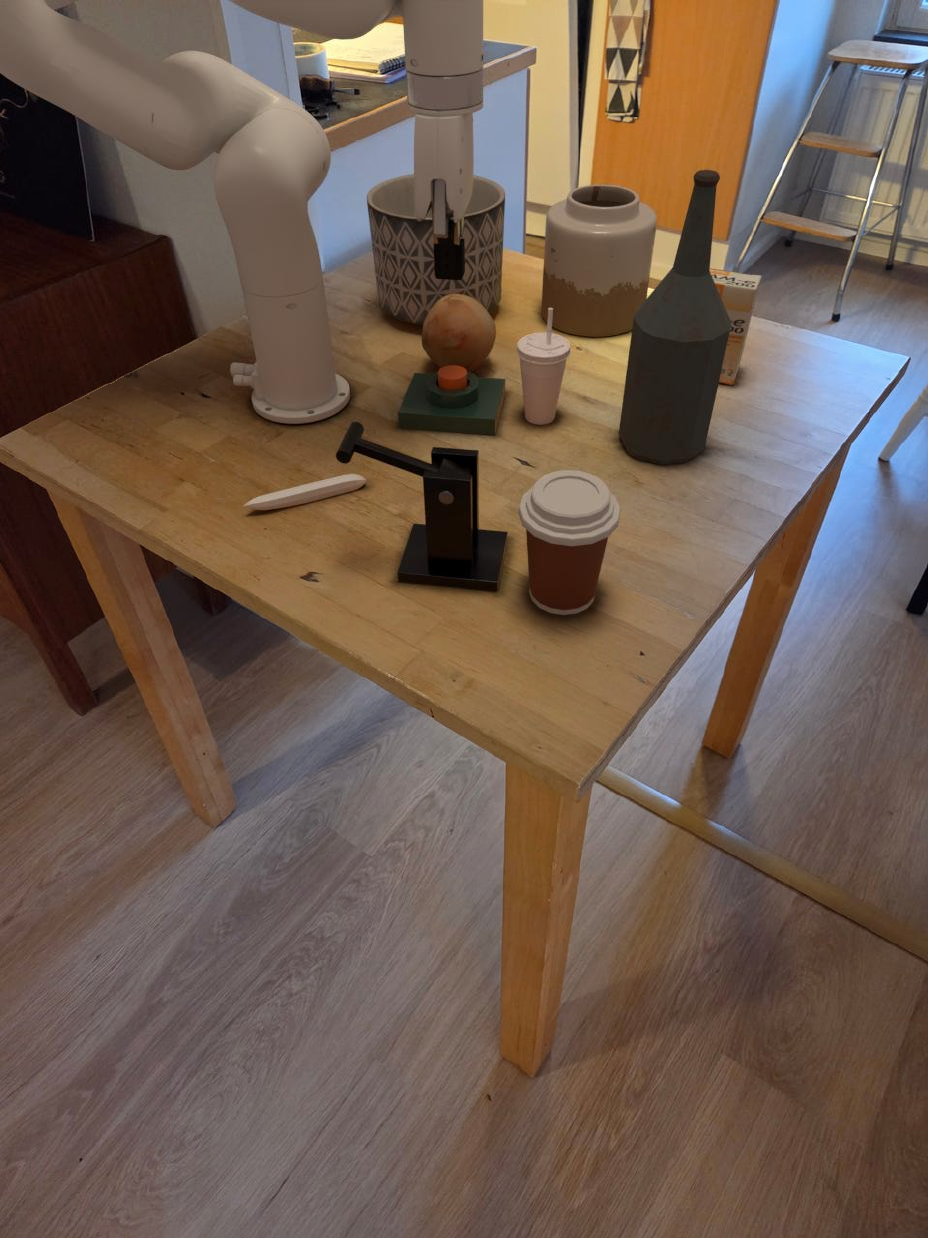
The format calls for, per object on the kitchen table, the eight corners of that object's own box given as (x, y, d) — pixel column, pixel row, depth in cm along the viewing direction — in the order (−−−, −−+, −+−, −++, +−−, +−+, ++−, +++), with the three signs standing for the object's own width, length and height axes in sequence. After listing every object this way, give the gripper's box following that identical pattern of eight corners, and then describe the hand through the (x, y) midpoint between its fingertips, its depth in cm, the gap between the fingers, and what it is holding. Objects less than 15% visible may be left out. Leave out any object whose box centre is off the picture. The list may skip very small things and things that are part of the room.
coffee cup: (559, 550, 87) (567, 450, 79) (628, 592, 83) (644, 492, 74) (496, 591, 83) (497, 491, 75) (565, 639, 78) (575, 537, 70)
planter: (504, 337, 122) (506, 217, 110) (371, 338, 122) (359, 219, 111) (502, 282, 136) (503, 170, 124) (382, 283, 136) (373, 172, 124)
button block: (398, 428, 105) (396, 399, 102) (415, 387, 112) (413, 359, 109) (495, 435, 103) (495, 405, 100) (505, 394, 110) (505, 365, 108)
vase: (617, 347, 119) (632, 223, 107) (522, 322, 125) (527, 202, 113) (659, 306, 128) (677, 188, 117) (569, 285, 134) (578, 171, 123)
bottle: (653, 411, 107) (695, 149, 86) (720, 441, 101) (782, 170, 81) (601, 444, 101) (633, 173, 81) (669, 477, 96) (721, 197, 75)
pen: (243, 511, 93) (240, 499, 92) (364, 480, 97) (362, 468, 96) (246, 519, 92) (243, 507, 91) (368, 487, 96) (367, 475, 95)
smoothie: (562, 432, 103) (570, 322, 94) (510, 427, 104) (513, 318, 95) (568, 406, 108) (576, 298, 98) (518, 401, 109) (522, 294, 99)
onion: (507, 377, 113) (509, 304, 106) (438, 392, 111) (435, 318, 104) (479, 346, 120) (479, 275, 113) (413, 359, 117) (409, 288, 110)
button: (435, 391, 104) (435, 378, 103) (441, 376, 107) (440, 363, 105) (464, 393, 104) (464, 380, 102) (469, 378, 106) (469, 365, 105)
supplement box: (671, 376, 113) (688, 278, 104) (678, 360, 116) (695, 264, 107) (734, 387, 111) (756, 288, 102) (739, 370, 114) (762, 273, 105)
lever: (333, 464, 77) (338, 443, 76) (347, 435, 81) (352, 414, 79) (457, 509, 79) (465, 490, 77) (465, 478, 82) (473, 459, 81)
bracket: (397, 581, 84) (388, 483, 76) (414, 532, 90) (407, 435, 82) (497, 591, 83) (499, 492, 75) (507, 540, 89) (510, 443, 80)
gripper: (422, 71, 89) (429, 249, 101) (390, 108, 78) (403, 303, 91) (493, 72, 88) (491, 252, 100) (471, 111, 77) (472, 307, 90)
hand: (449, 276), depth 96 cm, fingers closed
